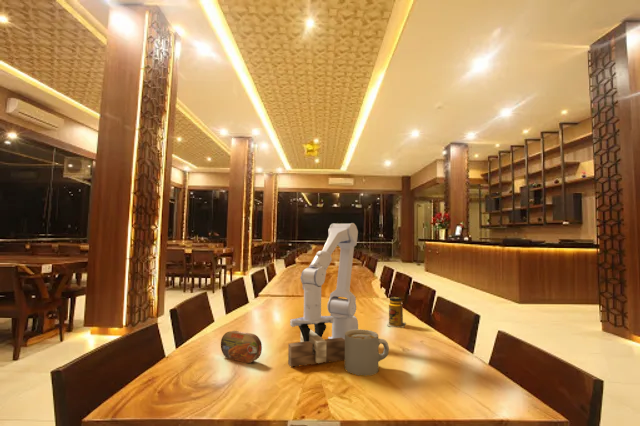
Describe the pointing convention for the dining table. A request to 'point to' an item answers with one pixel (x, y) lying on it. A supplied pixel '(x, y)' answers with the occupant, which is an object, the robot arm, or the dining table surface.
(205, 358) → the dining table surface
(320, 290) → the robot arm
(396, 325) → the condiment
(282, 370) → the dining table surface
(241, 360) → the tin
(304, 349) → the walnut slotted plate
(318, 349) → the ash notched plate
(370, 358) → the coffee mug
